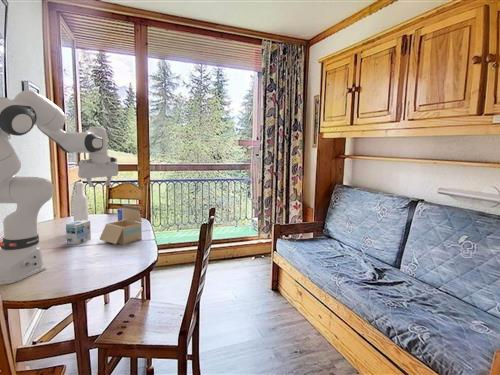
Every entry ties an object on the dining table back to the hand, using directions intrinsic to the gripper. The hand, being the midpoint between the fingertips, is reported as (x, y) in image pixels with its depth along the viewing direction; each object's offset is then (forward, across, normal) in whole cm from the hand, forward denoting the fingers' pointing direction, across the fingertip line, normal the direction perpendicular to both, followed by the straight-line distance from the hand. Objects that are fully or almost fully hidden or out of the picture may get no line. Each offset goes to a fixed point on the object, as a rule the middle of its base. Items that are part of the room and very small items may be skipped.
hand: (99, 185), depth 158 cm
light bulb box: (+32, -3, +15) cm, 35 cm away
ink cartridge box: (+32, +31, +20) cm, 49 cm away
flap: (+18, +18, -1) cm, 25 cm away
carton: (+32, +10, -2) cm, 33 cm away
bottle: (+32, +8, +32) cm, 46 cm away
